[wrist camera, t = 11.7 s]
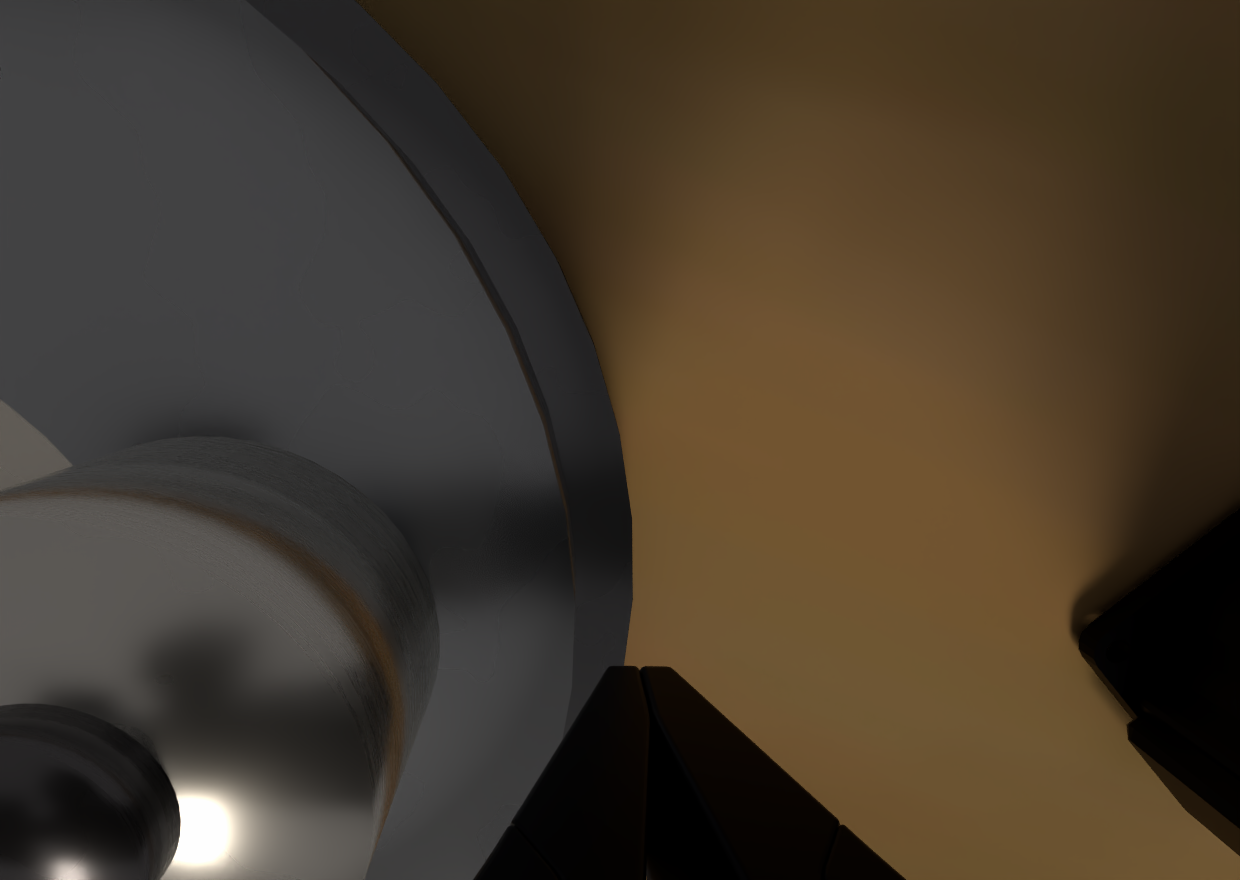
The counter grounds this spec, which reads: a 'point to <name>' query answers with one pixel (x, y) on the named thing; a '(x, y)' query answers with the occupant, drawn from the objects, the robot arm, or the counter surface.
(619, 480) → the turntable base
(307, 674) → the cover
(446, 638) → the turntable
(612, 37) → the counter surface
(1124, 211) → the counter surface
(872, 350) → the counter surface
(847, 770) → the counter surface
